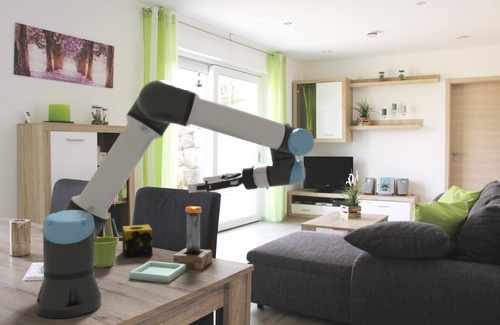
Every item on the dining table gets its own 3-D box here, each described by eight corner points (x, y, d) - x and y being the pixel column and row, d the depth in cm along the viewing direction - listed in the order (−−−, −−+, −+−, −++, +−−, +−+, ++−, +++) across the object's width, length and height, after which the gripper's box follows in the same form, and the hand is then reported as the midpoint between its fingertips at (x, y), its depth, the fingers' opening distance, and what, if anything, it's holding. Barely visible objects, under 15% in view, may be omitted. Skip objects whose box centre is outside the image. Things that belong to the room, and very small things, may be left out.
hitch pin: (197, 266, 145) (198, 209, 144) (182, 265, 146) (183, 208, 145) (203, 262, 150) (203, 206, 149) (188, 261, 151) (189, 206, 150)
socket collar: (201, 269, 142) (201, 257, 142) (173, 266, 144) (173, 255, 144) (211, 261, 152) (211, 250, 151) (185, 259, 154) (185, 248, 154)
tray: (168, 282, 128) (168, 275, 128) (129, 278, 131) (129, 272, 131) (185, 270, 141) (185, 264, 140) (149, 267, 144) (149, 261, 144)
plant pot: (109, 270, 140) (109, 243, 139) (83, 268, 142) (83, 242, 141) (123, 262, 149) (123, 237, 148) (98, 260, 151) (98, 236, 150)
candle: (149, 249, 167) (149, 224, 167) (153, 256, 158) (153, 229, 158) (122, 251, 164) (122, 225, 163) (124, 258, 154) (124, 230, 154)
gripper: (248, 196, 128) (183, 204, 134) (267, 181, 152) (211, 188, 158) (243, 171, 127) (178, 180, 133) (263, 160, 151) (207, 168, 157)
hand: (196, 184), depth 145 cm, fingers open, 13 cm apart
